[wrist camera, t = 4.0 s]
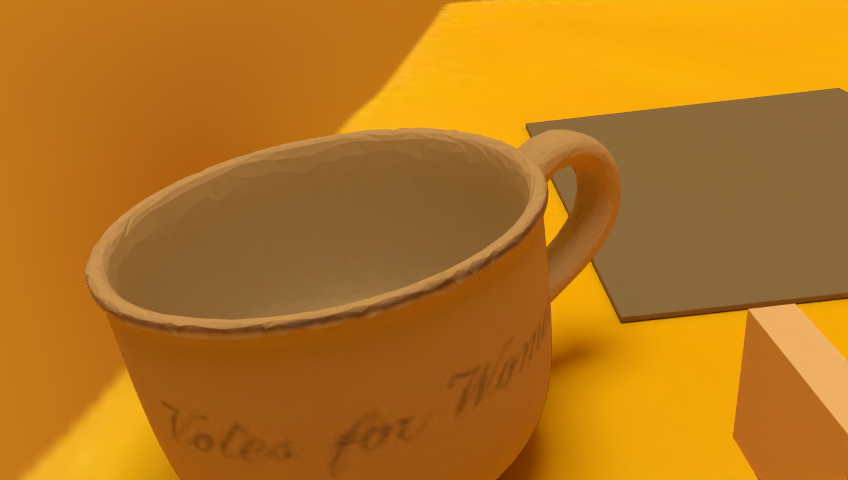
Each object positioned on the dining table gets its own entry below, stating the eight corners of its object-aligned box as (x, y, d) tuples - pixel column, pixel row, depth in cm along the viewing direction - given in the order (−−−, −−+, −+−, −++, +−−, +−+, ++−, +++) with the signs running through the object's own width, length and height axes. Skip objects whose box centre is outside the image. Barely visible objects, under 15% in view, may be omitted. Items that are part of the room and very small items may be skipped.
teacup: (170, 684, 15) (36, 382, 12) (177, 379, 25) (104, 158, 21) (748, 494, 18) (790, 201, 14) (559, 284, 28) (554, 73, 24)
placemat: (838, 91, 42) (839, 87, 42) (1159, 263, 25) (1161, 258, 25) (526, 127, 43) (525, 123, 42) (621, 322, 25) (621, 317, 25)
